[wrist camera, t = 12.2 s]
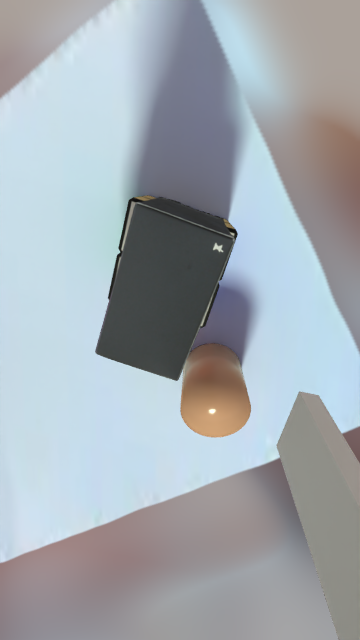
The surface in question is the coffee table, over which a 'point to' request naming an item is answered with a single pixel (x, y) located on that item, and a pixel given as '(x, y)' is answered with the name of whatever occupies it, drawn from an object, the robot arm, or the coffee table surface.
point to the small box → (163, 285)
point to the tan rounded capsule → (214, 391)
